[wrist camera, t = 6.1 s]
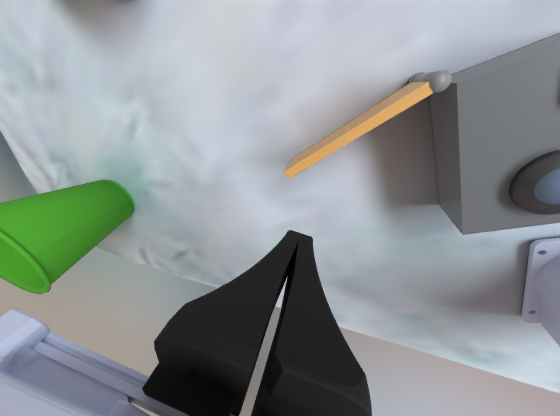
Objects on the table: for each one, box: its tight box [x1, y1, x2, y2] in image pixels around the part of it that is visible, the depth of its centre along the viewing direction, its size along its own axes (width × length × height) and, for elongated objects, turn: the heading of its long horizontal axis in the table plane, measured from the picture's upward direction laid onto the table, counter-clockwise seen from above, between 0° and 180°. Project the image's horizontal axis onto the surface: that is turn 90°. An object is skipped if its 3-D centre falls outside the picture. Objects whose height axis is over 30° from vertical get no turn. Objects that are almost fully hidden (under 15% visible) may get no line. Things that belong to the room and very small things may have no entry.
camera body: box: [408, 33, 560, 235], centre depth 12 cm, size 10×7×5 cm
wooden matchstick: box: [283, 71, 452, 179], centre depth 13 cm, size 10×1×3 cm, turn 126°
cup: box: [0, 180, 134, 294], centre depth 22 cm, size 9×9×11 cm
